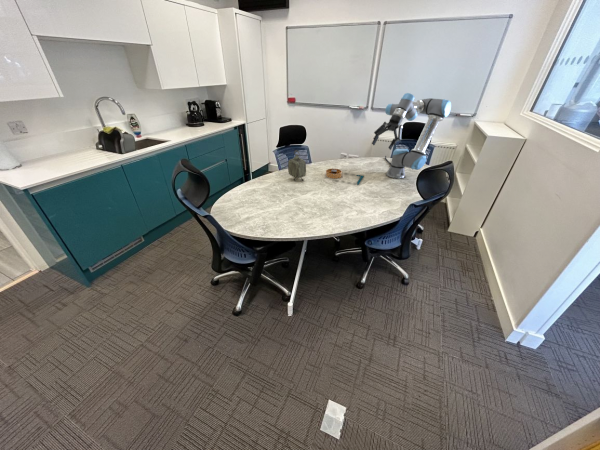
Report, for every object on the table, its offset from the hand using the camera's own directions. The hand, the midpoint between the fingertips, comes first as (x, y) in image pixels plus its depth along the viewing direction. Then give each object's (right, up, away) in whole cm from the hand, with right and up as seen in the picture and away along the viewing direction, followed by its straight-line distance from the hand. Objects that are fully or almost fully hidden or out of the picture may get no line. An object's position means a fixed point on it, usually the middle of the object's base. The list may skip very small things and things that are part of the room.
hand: (381, 146), depth 166 cm
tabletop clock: (-58, -15, +44) cm, 74 cm away
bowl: (-25, -10, +51) cm, 58 cm away
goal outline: (-13, -13, +47) cm, 50 cm away
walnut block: (-25, -9, +51) cm, 58 cm away
